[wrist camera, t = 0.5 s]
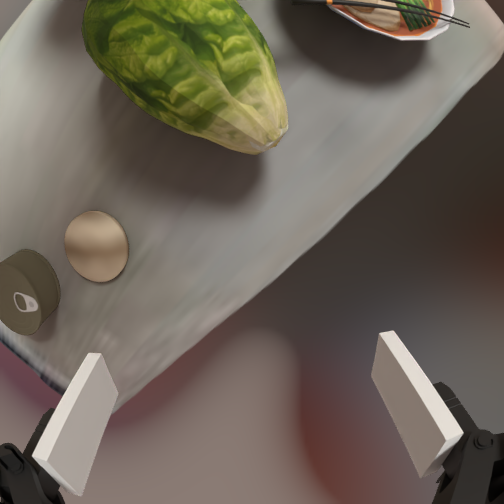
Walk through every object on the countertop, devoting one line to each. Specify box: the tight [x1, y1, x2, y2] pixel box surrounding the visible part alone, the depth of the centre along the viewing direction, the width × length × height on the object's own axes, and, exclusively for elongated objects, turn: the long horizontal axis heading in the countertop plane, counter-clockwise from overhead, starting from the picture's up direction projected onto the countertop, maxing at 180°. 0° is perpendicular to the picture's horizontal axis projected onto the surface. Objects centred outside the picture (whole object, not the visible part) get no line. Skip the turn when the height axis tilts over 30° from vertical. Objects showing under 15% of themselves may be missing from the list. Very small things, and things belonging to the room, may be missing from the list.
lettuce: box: [82, 0, 288, 155], centre depth 25 cm, size 15×27×16 cm, turn 42°
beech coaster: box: [64, 211, 129, 282], centre depth 38 cm, size 10×10×1 cm
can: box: [0, 249, 60, 335], centre depth 37 cm, size 12×12×7 cm
